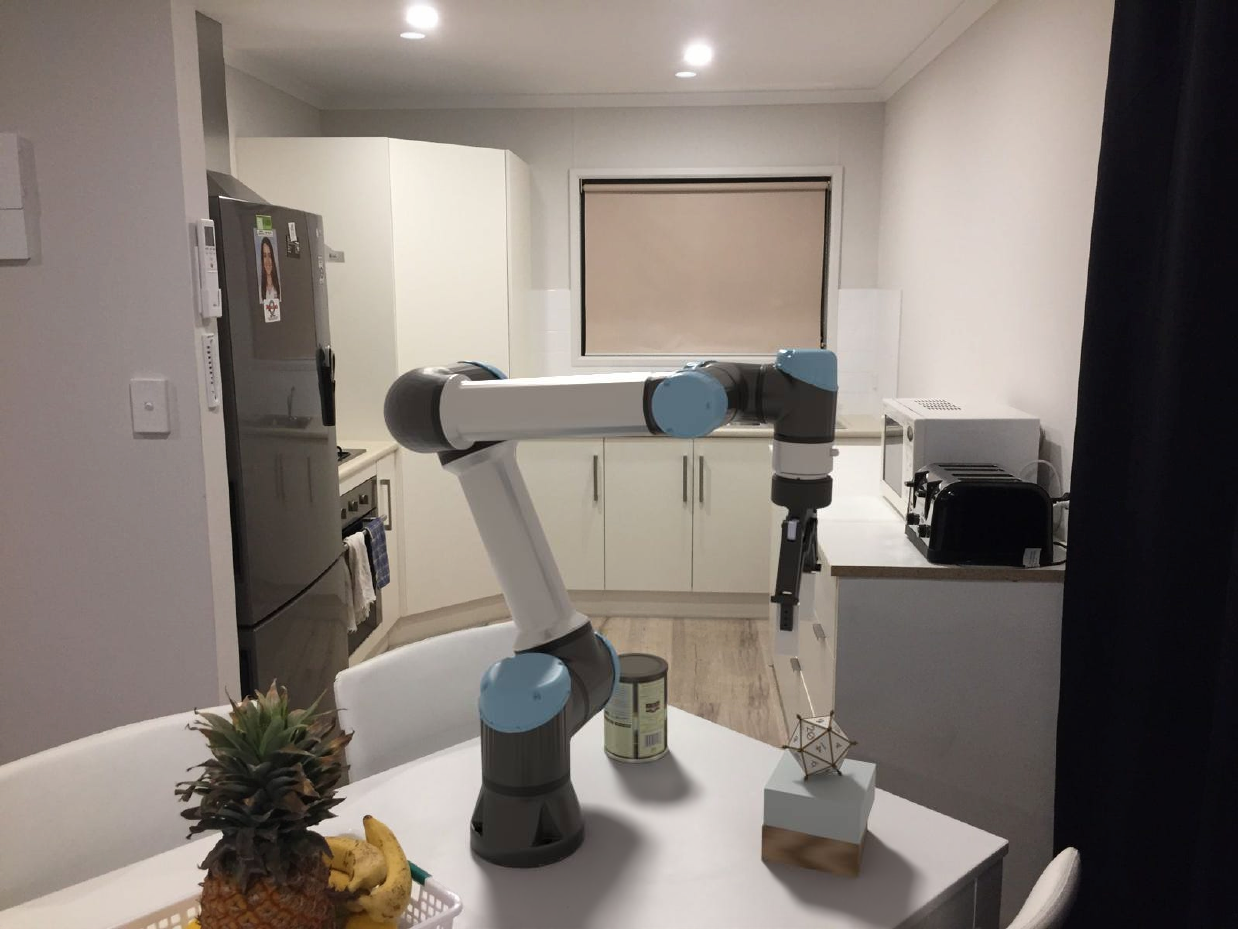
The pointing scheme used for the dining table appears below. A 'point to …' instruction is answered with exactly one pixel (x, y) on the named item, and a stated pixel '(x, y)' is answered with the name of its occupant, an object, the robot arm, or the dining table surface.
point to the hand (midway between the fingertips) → (794, 636)
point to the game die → (819, 745)
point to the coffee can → (638, 710)
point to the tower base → (811, 851)
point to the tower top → (820, 799)
